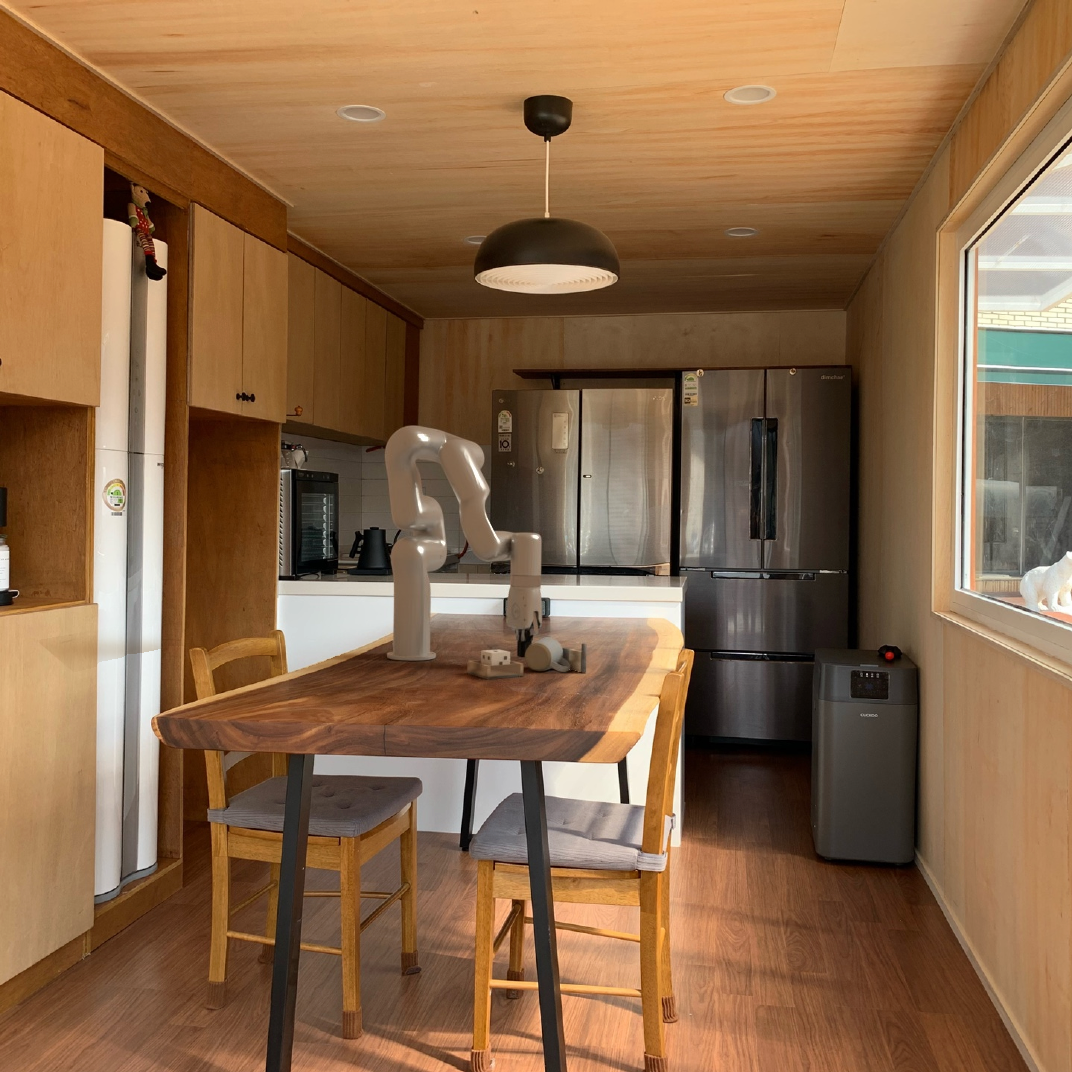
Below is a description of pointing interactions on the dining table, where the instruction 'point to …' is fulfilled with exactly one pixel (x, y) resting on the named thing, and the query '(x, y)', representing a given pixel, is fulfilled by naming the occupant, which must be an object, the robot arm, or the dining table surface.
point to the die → (495, 657)
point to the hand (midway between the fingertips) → (524, 656)
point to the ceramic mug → (546, 655)
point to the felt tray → (494, 670)
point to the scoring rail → (576, 658)
